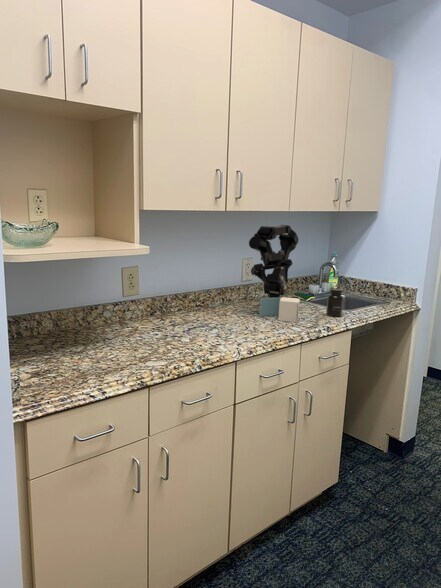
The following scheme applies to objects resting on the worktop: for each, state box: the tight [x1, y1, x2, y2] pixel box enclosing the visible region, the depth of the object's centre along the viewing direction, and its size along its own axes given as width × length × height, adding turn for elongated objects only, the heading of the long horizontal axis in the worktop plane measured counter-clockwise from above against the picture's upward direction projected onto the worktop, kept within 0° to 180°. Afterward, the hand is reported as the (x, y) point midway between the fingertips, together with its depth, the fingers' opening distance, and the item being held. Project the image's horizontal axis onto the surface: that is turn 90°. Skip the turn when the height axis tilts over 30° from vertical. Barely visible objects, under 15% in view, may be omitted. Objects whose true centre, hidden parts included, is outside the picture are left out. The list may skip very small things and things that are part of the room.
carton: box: [278, 297, 301, 323], centre depth 196 cm, size 9×8×8 cm
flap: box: [259, 296, 281, 317], centre depth 200 cm, size 9×2×8 cm, turn 107°
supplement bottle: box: [325, 288, 344, 318], centre depth 207 cm, size 7×7×12 cm
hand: (277, 284), depth 200 cm, fingers open, 9 cm apart
